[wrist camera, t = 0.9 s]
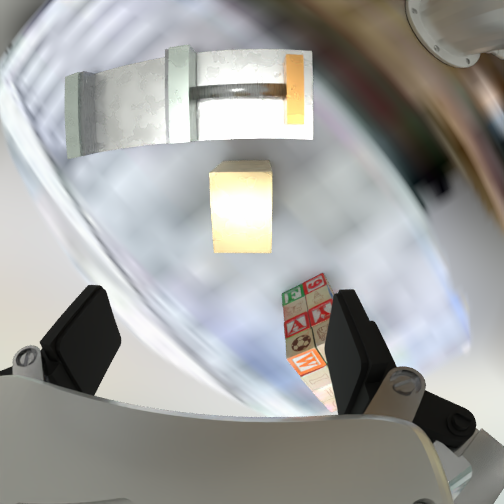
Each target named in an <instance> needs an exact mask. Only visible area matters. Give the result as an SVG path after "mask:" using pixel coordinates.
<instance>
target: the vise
mask: <svg viewBox="0 0 504 504" xmlns="http://www.w3.org/2000/svg"><path fill="white" fill-rule="evenodd" d="M286 54H296V55H303V57H304V125H284V97H225V98H209V99H197V100H196V126H197V140H215V139H245V138H279V139H309V140H313V69H312V51H302V50H282V49H243V50H223V51H210V52H200V53H196V86H205V85H218V84H237V83H284V59H285V56H286ZM65 129H66V145H67V157H68V159H71V158H75V157H80V156H85V155H89V154H93V153H98V152H104V151H110V150H116V149H122V148H129V147H137V146H144V145H153V144H162V143H166V122H165V57H164V58H159V59H153V60H148V61H143V62H139V63H134V64H130V65H126V66H122V67H118V68H114V69H110V70H107V71H103V72H100V73H97V74H94V73H89V72H85V71H83V72H77V73H75V74H72V75H69V76H67V77H65Z"/></svg>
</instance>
